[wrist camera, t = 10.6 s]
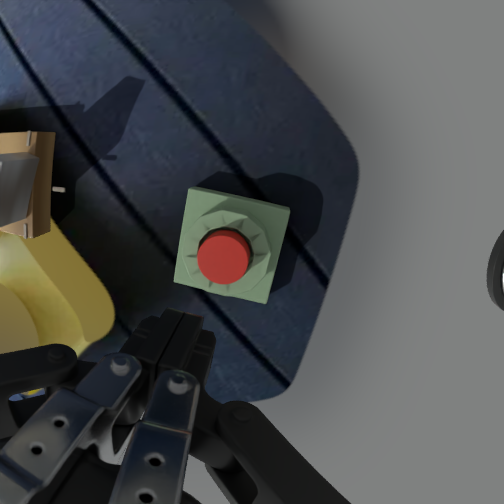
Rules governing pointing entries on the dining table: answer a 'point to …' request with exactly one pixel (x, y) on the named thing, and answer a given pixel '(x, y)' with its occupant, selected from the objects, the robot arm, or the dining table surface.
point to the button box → (242, 222)
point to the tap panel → (41, 189)
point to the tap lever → (16, 185)
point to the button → (223, 257)
